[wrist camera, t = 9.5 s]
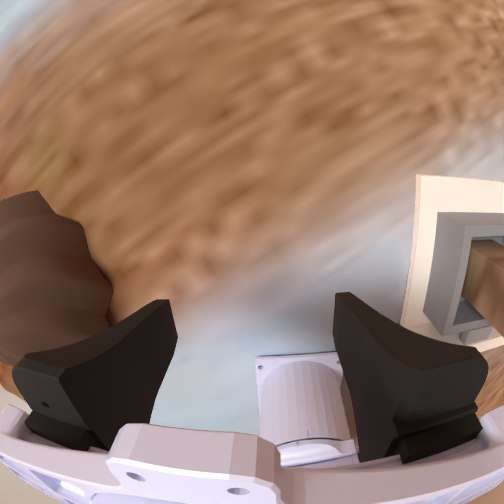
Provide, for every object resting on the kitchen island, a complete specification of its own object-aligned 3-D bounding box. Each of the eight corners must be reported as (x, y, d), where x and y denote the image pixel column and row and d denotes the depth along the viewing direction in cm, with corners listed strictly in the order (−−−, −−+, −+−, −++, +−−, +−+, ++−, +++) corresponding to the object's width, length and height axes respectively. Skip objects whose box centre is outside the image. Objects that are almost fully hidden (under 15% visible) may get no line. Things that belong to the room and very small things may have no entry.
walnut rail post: (483, 281, 19) (536, 328, 12) (451, 286, 20) (505, 339, 12) (491, 239, 18) (553, 276, 11) (459, 240, 18) (524, 283, 11)
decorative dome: (-24, 201, 21) (-85, 226, 12) (98, 181, 20) (7, 211, 11) (16, 342, 28) (-24, 385, 18) (136, 372, 27) (100, 445, 17)
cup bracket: (488, 316, 22) (513, 341, 18) (397, 334, 23) (417, 369, 18) (513, 183, 18) (549, 194, 13) (416, 174, 18) (452, 183, 14)
